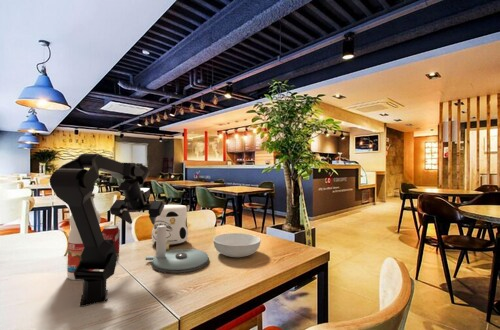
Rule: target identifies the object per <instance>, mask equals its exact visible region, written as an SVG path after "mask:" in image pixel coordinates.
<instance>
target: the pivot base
mask: <svg viewBox="0 0 500 330" xmlns="http://www.w3.org/2000/svg"><path fill="white" fill-rule="evenodd" d="M169 249H170V246H169V242H166V251H169ZM175 257H176V258H185V257H187V254H186V253H178V254H176V255H175ZM209 264H210V258H209V256H208V260H207V262H206V263H204V264H203V265H201V266H198V267H195V268H191V269H185V270H165V269H161V268H158V267H156V266H154V264H153V260H151V264H150V265H151V269H153V270H154V271H156V272H158V273H162V274H168V275H170V274H171V275H179V274H181V275H182V274H188V273H193V272H197V271H200V270H202V269H204V268H205V267H207V266H208V265H209Z"/></svg>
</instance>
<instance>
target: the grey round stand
mask: <svg viewBox="0 0 500 330" xmlns="http://www.w3.org/2000/svg"><path fill="white" fill-rule="evenodd" d="M155 248H156V249H155V252H156V253H155V255H147V256H145V261H153V264H154V266H156V267H158V268H161V269H165V270H185V269H191V268H195V267H198V266H201V265H203V264H204V263H206V262H207V260H208V257H209V254H208V253H207V252H206V251H203V250H201V249H196V248H175V249H170V250H169V251H166V226H165V225H161V226H157V238H156V244H155ZM178 253H186V254H187V257H185V258H176V257H175V255H176V254H178Z"/></svg>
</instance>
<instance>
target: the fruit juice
mask: <svg viewBox="0 0 500 330" xmlns="http://www.w3.org/2000/svg"><path fill="white" fill-rule="evenodd" d="M95 194H96V193H94V192H92V195H91V201H92V204H93V207H94V210H95V213H96V216H97V219H98V222H99V225H100V223H101V221H102V218H101V217H102V216H101V214H100V212H99V211H98V209H97V208H96V206H95V205H96V204H95V200H94V198H95V196H96V195H95ZM69 226H70V231H69V232H68V237H67V265H66V267H67V268H66V269H67V272H66V275H67V278H68V279H69V280H70V281H71V280H72V281H79V280H80V281H81V280H82V281H83V279H75V277H74V272H75V270H76V268H77V266H78V265H79V263H80V261H81V254H82V251H83V249H84V245H83V242H82V240H81V237H80V235H79V232H78V229H77V227H76V224H75V221H74V219H73V216H72V214H71V215H70V217H69ZM89 271H100V270H99V269H89Z"/></svg>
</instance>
